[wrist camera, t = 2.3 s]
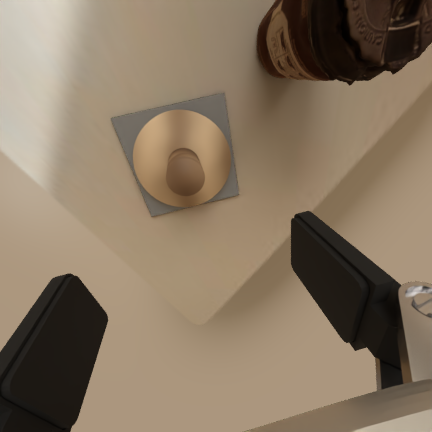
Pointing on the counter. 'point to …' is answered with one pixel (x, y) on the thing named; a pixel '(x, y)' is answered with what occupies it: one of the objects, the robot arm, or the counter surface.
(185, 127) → the lid
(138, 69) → the counter surface
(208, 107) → the mat
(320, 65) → the coffee cup
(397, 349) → the robot arm
